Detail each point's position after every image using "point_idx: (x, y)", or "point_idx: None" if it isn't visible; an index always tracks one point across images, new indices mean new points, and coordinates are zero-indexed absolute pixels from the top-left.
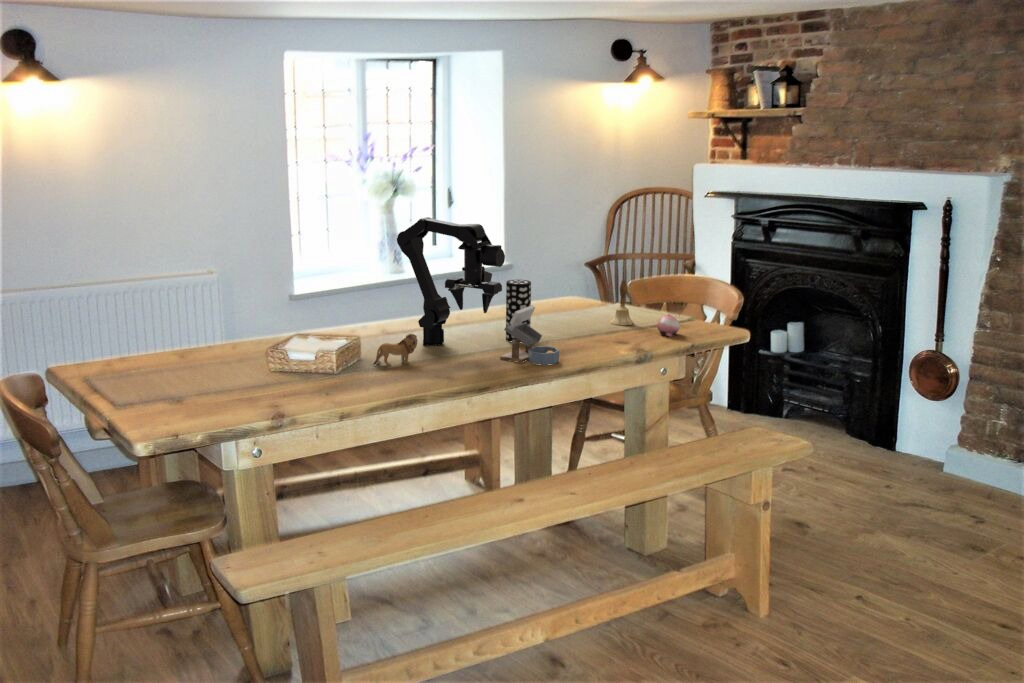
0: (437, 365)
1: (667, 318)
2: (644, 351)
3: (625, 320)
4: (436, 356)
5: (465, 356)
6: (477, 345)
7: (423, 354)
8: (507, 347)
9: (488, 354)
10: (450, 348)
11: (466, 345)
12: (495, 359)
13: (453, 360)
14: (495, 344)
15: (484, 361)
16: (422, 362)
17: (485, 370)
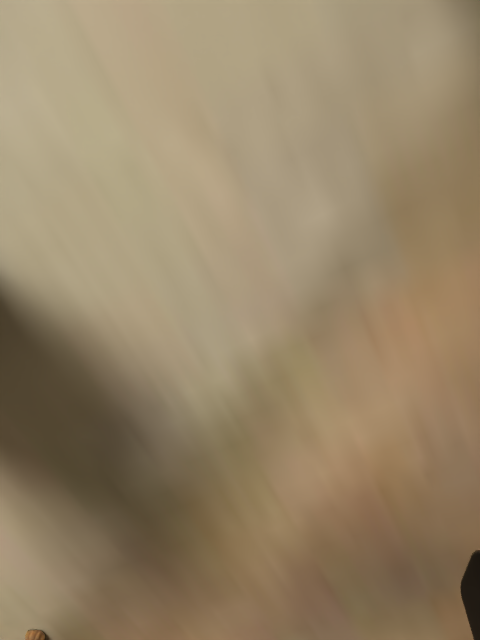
0: (212, 629)
1: None
2: None
3: None
4: (115, 513)
5: (264, 455)
6: (205, 166)
7: (27, 507)
8: (459, 111)
9: (382, 361)
10: (79, 333)
11: (130, 206)
12: (462, 442)
13: (240, 541)
14: (329, 59)
15: (411, 499)
16: (119, 616)
17: None
